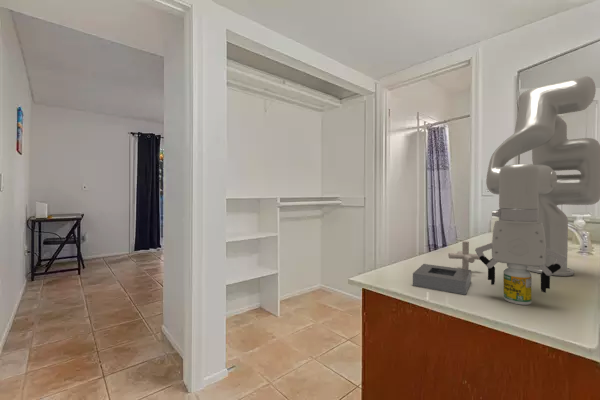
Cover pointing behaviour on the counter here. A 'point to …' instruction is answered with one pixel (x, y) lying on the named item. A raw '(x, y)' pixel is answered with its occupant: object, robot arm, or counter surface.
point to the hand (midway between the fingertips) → (517, 286)
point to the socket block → (442, 278)
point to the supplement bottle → (517, 284)
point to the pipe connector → (464, 255)
